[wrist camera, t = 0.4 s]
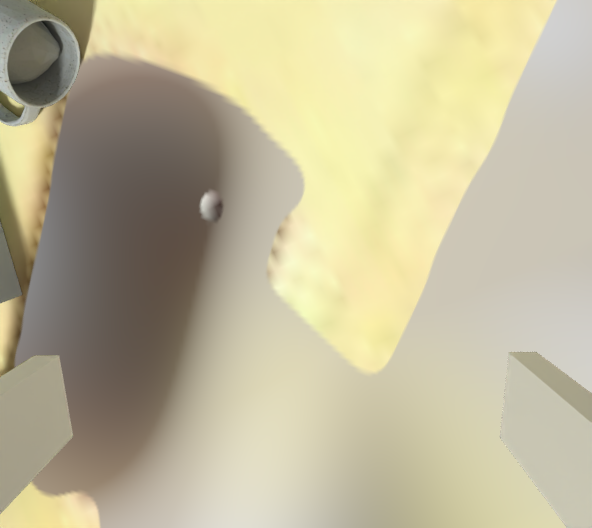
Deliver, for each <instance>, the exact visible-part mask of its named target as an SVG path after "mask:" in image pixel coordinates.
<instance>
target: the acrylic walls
mask: <svg viewBox="0 0 592 528" xmlns="http://www.w3.org/2000/svg"><path fill="white" fill-rule="evenodd" d="M21 295H22V292H21V288H20V285H19V282H18V278H17V275H16V272H15V268H14V265H13V262H12V258H11V255H10V252H9V248H8V245H7V242H6V238H5V235H4V232H3V228H2V225H1V222H0V303H2V302H5V301H7V300H10V299H13V298H15V297H18V296H21Z"/></svg>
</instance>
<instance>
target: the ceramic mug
mask: <svg viewBox="0 0 592 528" xmlns="http://www.w3.org/2000/svg"><path fill="white" fill-rule="evenodd" d="M79 67H80V48H79V44H78V41H77V39H76V37H75V35H74V33H73V32H72V30H71V29H70V27H69V26H68V25H67V24H66V23H64V22H63V21H62V20H60V19H59V18H57V17H55V16H54V15H52V14H50V13H49V12H47V11H45V10H43V9H42V8H40V7H38V6H37V5H35V4H34V3H32V2H30V1H29V0H0V91H2V92H3V93H5V94H6V95H8V96H9V97H10V98H12V99H14V100H15V101H17V102H18V103H20V104H22V105H24V106H25V108H24V110H23V113H22V115H21V117H20V118H19V117H17V116H16V115H14V114H13V113H12V112H10V111H9V110H8V109H6V108H5V107H4V106H3V105H2V104H1V103H0V121H1V122H2V123H4V124H6V125H9V126H19V125H24V124H28V123H31V122H33V121H34V120H35V119H36V118H37V116H38V114H39V111H40V109H41V108H44V107H48V106H51V105H53V104H55V103H57V102H58V101H59V100H60V99H62V98H63V97H64V96H65V95H66V94H67V93H68V91H69V90H70V89H71V87H72V85H73V84H74V82H75V80H76V77H77V75H78V71H79Z"/></svg>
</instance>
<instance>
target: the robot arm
mask: <svg viewBox="0 0 592 528" xmlns="http://www.w3.org/2000/svg"><path fill="white" fill-rule="evenodd" d="M72 437H73V432H72V427H71V422H70V415H69V410H68V404H67V398H66V392H65V387H64V381H63V375H62V370H61V364H60V358H59V355H57V356H56V355H47V356H33V357H31V358H30V359H28V360H26V361H25V362H23V363H22V364H20V365H18V366H17V367H15V368H13V369H12V370H10V371H9V372H7V373H5V374H4V375H2V376H1V377H0V514H1V513H2V512H3V511H4V510H5V508H6V507H7V506H8V505H9V504H10V503H11V502H12V501H13V500H14V499H15V498H16V497H17V496H18V495H19V494H20V493H21V491H22V490H23V489H24V488H25V487H26V486H27V485H28V484H29V483H30V482H31V481H32V480H33V479H34V478H35V476H36V475H37V474H38V473H39V472H40V471H41V470H42V469H43V468H44V467H45V466H46V465H47V464H48V463H49V462H50V461H51V460H52V458H53V457H54V456H55V455H56V454H57V453H58V452H59V451H60V450H61V449H62V448H63V447H64V446H65V445H66V443H68V441H69V440H70V439H71V438H72ZM500 438H501V440H502V441H503V443H504V444H505V445H506V447H507V448H508V449H509V451H510V452H511V453H512V454H513V456H514V457H515V459H516V460H517V461H518V463H519V464H520V465H521V466H522V468H523V469H524V471H525V472H526V473H527V475H528V476H529V477H530V479H531V480H532V482H533V483H534V484H535V486H536V487H537V488H538V490H539V491H540V492H541V494H542V495H543V496H544V498H545V499H546V500H547V501H548V503H549V504H550V506H551V507H552V508H553V510H554V511H555V512H556V514H557V515H558V516H559V518H560V519H561V521H562V522H563V523H564V524H565V526H566V527H567V528H592V393H590V392H589V391H588V390H586V389H585V388H584V387H582V386H581V385H580V384H578V383H577V382H576V381H574V380H573V379H572V378H570V377H569V376H568V375H566V374H565V373H564V372H562V371H561V370H560V369H558V368H557V367H556V366H554V365H553V364H552V363H550V362H549V361H548V360H546V359H545V358H544V357H542V356H541V355H540V354H538V353H537V352H509V354H508V364H507V374H506V383H505V393H504V403H503V413H502V423H501V432H500Z"/></svg>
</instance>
